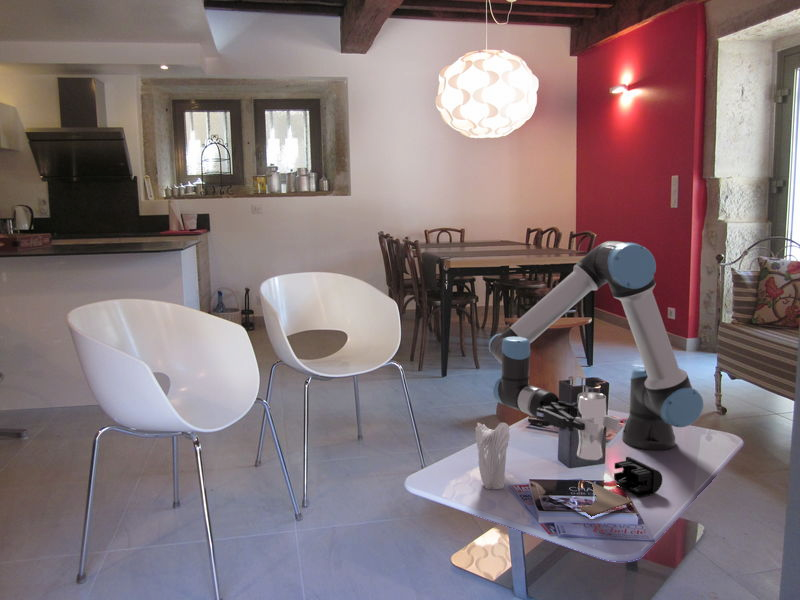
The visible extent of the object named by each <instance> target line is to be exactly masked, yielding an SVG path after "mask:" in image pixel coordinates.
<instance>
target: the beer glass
mask: <svg viewBox="0 0 800 600" xmlns="http://www.w3.org/2000/svg"><path fill="white" fill-rule="evenodd" d="M576 401H577V410H576V417H578V418H580V419H583V420H586V421H589V422H592V423H595V424H598V436H596V437H595V436H593V435H590V434H587V433H585V432H582V431H580V430H577V432H578V447H577V451H576V456H577V457H578V458H579V459H582V460H585V461H600V460H602V459H603V458H604V455H603V447H602V443H603V437H604V433H605V428H606V427H605V423H606V415H608V414H607V410H608V409H607V396H606V395H605V394H603V393H599V392H594V391H593V392H592V391H590V392H589V391H584V392H580V393H578V394H577V400H576ZM576 417H575V418H576Z"/></svg>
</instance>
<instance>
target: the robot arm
mask: <svg viewBox="0 0 800 600" xmlns="http://www.w3.org/2000/svg"><path fill="white" fill-rule="evenodd" d="M572 268H573V269H572V270H573V271H572V272H570V274H568V275H567V276H566V277H565V278H564V279H563V280H561V281H560V282H559V283H558V284H557V285H556V286H555V287H554V288H553V289H551V290H550V291H549V292H548V293H547V294H546V295H545V296H543V298H541V299H540V300H539V301H538V302H537V303H536V304H535V305H534V306H532V307H531V308H530V309H529V310H528V311H526V312H525V313H524V314H523V315H521V317H520V318H518V320H517V321H515V322H514V323H513V324H512V325H511V326H510V327H509V328H507V329H506V330H505V331H503V332H502V333H498V334H494V335H493V336H492V337H491V338H490V340H489V342H488V350H489V352H490V354H491V356H492V357H493V358H494V359H495V360H497V361H498V362H499V364H500V365H501V377H499V379H497V381H496V382H495V383H494V386H493V388H492V394H493V397H494V399H495V400H496V402H498V403H500V404H502V405H503V406H505V407H506V408H507V407H508V408H510V409H512V410H513V409H514V410H516V411H519V412H522V413H524V414H527V415H529V417H534V418H536V419H538V420H541V421H544V422H547V423H548V424H550V425H553V426H555V427H558V428H560V429H561V430H566V429H567V428H568V432H574V430H577V431H578V430H580V431H582V432H585V433H587V434H590V435H593V436H595V437H596V436H598V424H595V423H592V422H589V421H586V420H583V419H580V418H578V417H576V410H577V400H572V403H569V402H566V401H564V400H560V399H559V397H558V395H557V394H556V393H554V392H552V391H549V390H546V389H543V388H540V387H538V386H533V385H531V384H530V367H531V366H530V365H531V352H532V351H531V343H533V342H534V341H535V340H536V339H538V337H540V336H541V335H542V334H543V333H544V332H545V331H546V330H547V329H548V328H550V327H551V326H552V325H553V324H555V323H556V322H557V321H558V320H559V319H560V318H562V317H563V316H564V315H565V314H566V313H567V312H569V310H570V309H571V308H573V307H574V306H575V305H576V304H578V303H579V302H580V301H581V300H582V299H583V298H584V297H586V295H588V294H589V293H590V292H591V291H598V290H599V289H600V288H601V287H603V286H604V285H605V284H608V287H609V289H610V291H611V294H612V297H613V298H614V299H616V300H619V301H620V302H621V305H622V308H623V311H624V314H625V317H626V319H627V321H628V322H627V323H628V325H629V327H630V331H631V333H632V336H633V338H634V341H635V344H636V347H637V351H638V353H639V355H640V356H639V357H640V358H641V362H642V364H643V366H642V367H641V366H639V367H636V368H633V369H632V371H631V377H630V393H629V396H630V397H629V415H628V417H627V420H626V423H625V425H624V428H623V431H622V441H623V442H624V443H626V444H627V445H629V446H631V447H635V448H638V449H643V450H648V451H649V450H650V451H651V450H652V451H665V450H670V449H673V448H674V447H675V446H676V436H675V433H674V428H673V427H676V428H685V427H689V426H691V425H693V424H694V423H695V422H697V421H698V420H699V418H700V417H701V416H700V415H701V414H702V413H703V410H704V400H703V397H702V395H701V394H700V393H699V391H698V390H696V389H695V388H693V386H692V384H691V380H690V378H689V376H688V373H687V371H686V370H684V369H681V368H680V366H679V364H678V361H677V358H676V355H675V353H674V352H675V351H674V349H673V347H672V344H671V342H670V338H669V336H668V332H667V329H666V327H665V324H664V322H663V318H662V315H661V312H660V309H659V307H658V304H657V300H656V298H655V296H654V293H653V291H654V289H655V287H656V284H657V282H656V279H655V273H657V271H656V270H657V263H656V259H655V257H654V255H653V254H652V252H651V251H650V250H649V249H648V248H646V247H645V246H643V245H640V244H638V243H635V242H633V241H631V242H630V241H628V242H627V241H626V242H625V241H624V242H623V241H618V240H607V241H605V242H602V243H600V244H598V245H597V246H596V247H593V249H592V250H590V251H589V252H588V253H587V254H586V255H585V256H583V258H581V259H580V260H579V261H577V263H576V264H574V266H573V267H572ZM620 421H621V420H620V419H619V418H616V417H613V416H610V415H608V414H607V415H606V423H605V428H607V429H610V430H613V431H616V432H619V431H620V423H621V422H620Z"/></svg>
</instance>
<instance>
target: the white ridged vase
mask: <svg viewBox="0 0 800 600" xmlns="http://www.w3.org/2000/svg"><path fill="white" fill-rule="evenodd" d="M476 424H477V426H476V427H475V430H474V431H475V435H474V436H475V441H476V447H477V450H478V467H479V468H478V469H479V473H480V478H481V481H482V484H483V486H484V488H486V490H501V489H504V486H505V479H506V477H505V476H506V474H505V473H506V461H507V450H508V447H509V441H510V432H509V431H510V426H509V424H508V423H506V422H500V423H498V425H497V426H496V427H495V428H494V429H492V428H491V429H490V428H488V427H487V426H486V425H485V423H483V424H482V423H480V422H477V423H476Z"/></svg>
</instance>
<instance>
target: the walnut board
mask: <svg viewBox="0 0 800 600" xmlns="http://www.w3.org/2000/svg"><path fill="white" fill-rule="evenodd" d="M585 482H588V483H590V484H592V487H593V490H592V491H593V493H594V494H595V495H596V496H597V497H596V496H595V497H596V499H597V500H596V499H595V501H596V502H595V501H594V503H595V504H594V503H592V507H591V506H590V505H589V506H588V507H585V506H583V505H582V507H579V509H581V510H582V511H584V512H586V513H587V514H588V515H590V516H591V517H592V516H595V515H597V514H600V513H603V512H605V511H608V510H610V509H613V508H616V507H619V506H622V505H625V504H628V503H632V504H633V500H631V499H629V498H628V497H625V496H623V495H620V494H618V493H616V492H614V491H612V490H610V489H607V488H605V487H603V486H601V485H598V484H596V483H594V482H592V481H590V480H586V481H585Z"/></svg>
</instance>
